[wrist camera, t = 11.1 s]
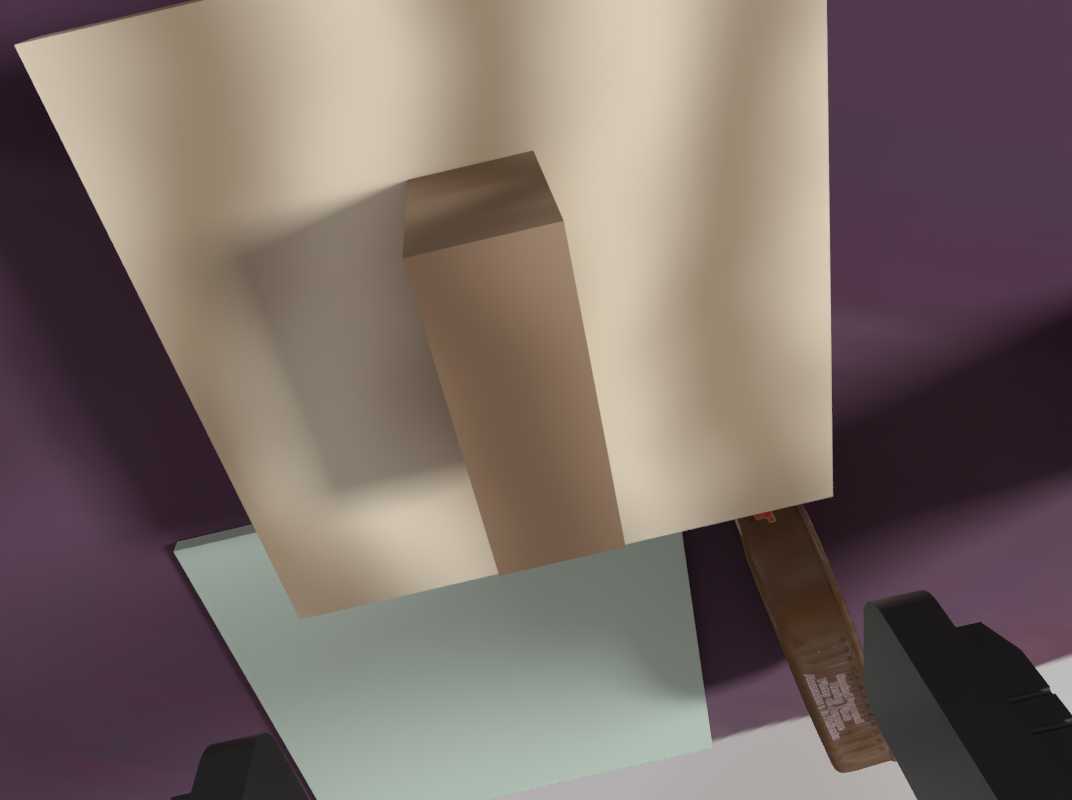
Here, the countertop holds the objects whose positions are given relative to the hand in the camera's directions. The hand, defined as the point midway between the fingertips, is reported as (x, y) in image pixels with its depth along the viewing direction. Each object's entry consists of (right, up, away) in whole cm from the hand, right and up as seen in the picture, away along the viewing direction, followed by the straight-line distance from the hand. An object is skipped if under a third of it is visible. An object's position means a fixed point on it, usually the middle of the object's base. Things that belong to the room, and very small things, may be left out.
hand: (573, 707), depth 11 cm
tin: (+10, -3, +26) cm, 28 cm away
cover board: (-1, +7, +11) cm, 13 cm away
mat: (-3, -8, +27) cm, 29 cm away
